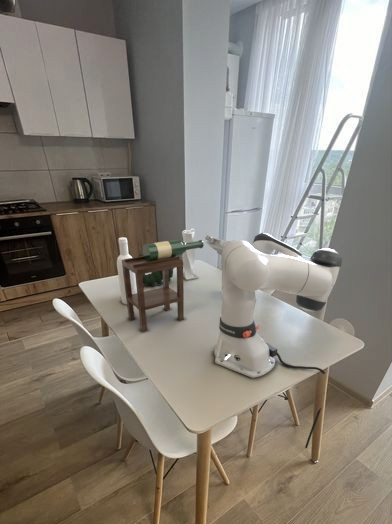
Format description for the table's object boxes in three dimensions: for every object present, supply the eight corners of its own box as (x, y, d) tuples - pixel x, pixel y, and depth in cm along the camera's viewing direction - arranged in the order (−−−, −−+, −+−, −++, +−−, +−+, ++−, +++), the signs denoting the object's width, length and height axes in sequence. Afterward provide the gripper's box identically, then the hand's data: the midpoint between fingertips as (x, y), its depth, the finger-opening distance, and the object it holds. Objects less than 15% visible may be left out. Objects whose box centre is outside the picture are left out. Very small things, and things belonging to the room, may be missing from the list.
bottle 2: (205, 253, 127) (206, 238, 123) (150, 264, 114) (149, 246, 110) (196, 249, 131) (197, 234, 127) (142, 258, 118) (142, 242, 115)
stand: (183, 319, 132) (183, 258, 117) (142, 331, 122) (136, 267, 107) (167, 307, 141) (165, 249, 126) (128, 318, 132) (121, 257, 117)
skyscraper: (198, 279, 173) (199, 228, 158) (185, 281, 170) (185, 229, 155) (192, 274, 180) (193, 225, 164) (180, 276, 177) (179, 226, 161)
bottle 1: (134, 305, 143) (127, 241, 126) (119, 304, 144) (110, 239, 127) (140, 298, 149) (134, 236, 132) (125, 297, 150) (117, 235, 134)
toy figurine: (142, 294, 158) (182, 281, 169) (135, 259, 147) (178, 247, 157) (134, 288, 165) (173, 276, 175) (128, 254, 154) (170, 243, 164)
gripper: (244, 263, 133) (224, 252, 123) (216, 252, 147) (196, 241, 137) (251, 250, 131) (231, 237, 122) (222, 240, 145) (202, 228, 135)
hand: (212, 239), depth 129 cm, fingers open, 8 cm apart
